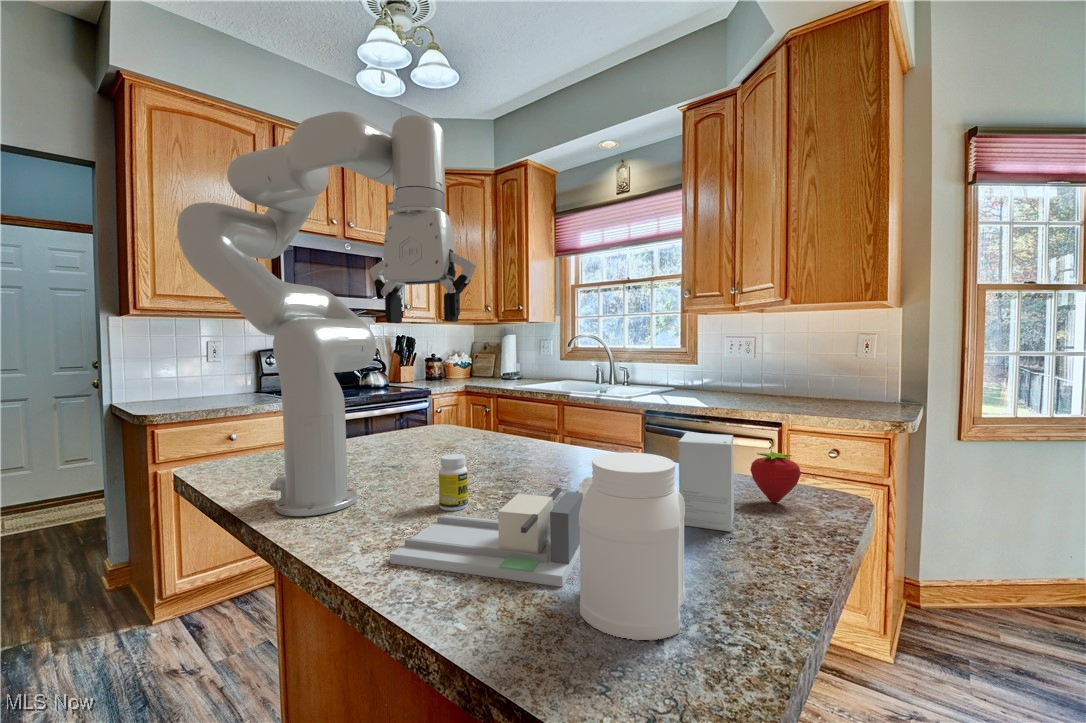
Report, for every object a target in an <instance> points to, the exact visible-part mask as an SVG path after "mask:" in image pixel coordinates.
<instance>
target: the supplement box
mask: <svg viewBox="0 0 1086 723" xmlns="http://www.w3.org/2000/svg"><path fill="white" fill-rule="evenodd" d="M677 445H678V448H677V449H678V491H679V492H680V494H681V495H682V496H683V498H684V503H685V515H684V527H685V526H687V527H693V528H694V527H695V528H702V529H710V530H715V531H724V532H732V529H733V522H734V517H735V492H734V490H735V486H734V485H735V484H734V483H735V479H734V472H735V471H734V470H735V468H734V463H735V462H734V460H735V458H734V434H719V433H718V434H717V433H716V434H715V433H701V432H700V433H698V432H697V433H696V432H685V433H684V435H683V436H681V438H680V439H679V440H678V441H677Z"/></svg>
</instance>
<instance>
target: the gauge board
mask: <svg viewBox="0 0 1086 723" xmlns="http://www.w3.org/2000/svg"><path fill="white" fill-rule="evenodd" d="M582 500H583V493H579V492H578V491H577V492H575V491H566V492H565V493H564V494H563V495H562V496H561V498H560V499H559V500H558V501H557V502H556V504H555V505H553V509H552V510H551V511H550V539H549V541H548V542H547V544H546V545H545V547H544V548H543V549H542V551H541V552H540V554H538V553H529V552H521V551H512V550H504V549H499V526H498V519H490V518H479V517H469V516H461V515H460V516H459V515H452V514H451V515H450V514H444V515H438V516H437V517H436V520H435V521H433V523H431V524H430V525H429V526H427V527H425V528H424V529H423V530H421V531H420V532H418V533H417V534H416V535H414V536H413V537H410V538H409V537H407V538H406V539H404V543H403V544H402V545H400V546H399V547H397V548H396V549H395V550H393V551H392V552H391V553H389V561H390V562H389V563H390V564H392V565H398V566H399V565H401V566H406V567H414V568H421V569H430V570H437V571H444V572H445V571H446V572H452V573H456V574H457V573H459V574H464V575H465V574H466V575H474V576H480V577H488V578H495V579H503V580H509V581H516V582H525V583H531V584H537V585H538V584H539V585H546V586H554V587H561V588H562V587H564V585H565V583H566V581H567V579H568V577H569V575H570V573H571V572H572V570H573V567H574V566H575V563H576V561H577V559H578V558H579V557H580V526H579V512H580V507H581V503H582Z"/></svg>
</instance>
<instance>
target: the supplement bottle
mask: <svg viewBox="0 0 1086 723" xmlns="http://www.w3.org/2000/svg"><path fill="white" fill-rule="evenodd" d="M465 465H466V455H465V454H462V453H460V454H459V453H451V454H450V453H449V454H445V455H442V456H441V457H440V469H439V470H438V501H439V508H440V509H441V510H443V511H448V512H451V511H452V512H455V511H460V510H461V511H462V510H464V509H466V508H467V507H468V505H469V482H468V481H469V480H468V478H469V475H468V474H469V471H468V468H467V467H466V466H465Z"/></svg>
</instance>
